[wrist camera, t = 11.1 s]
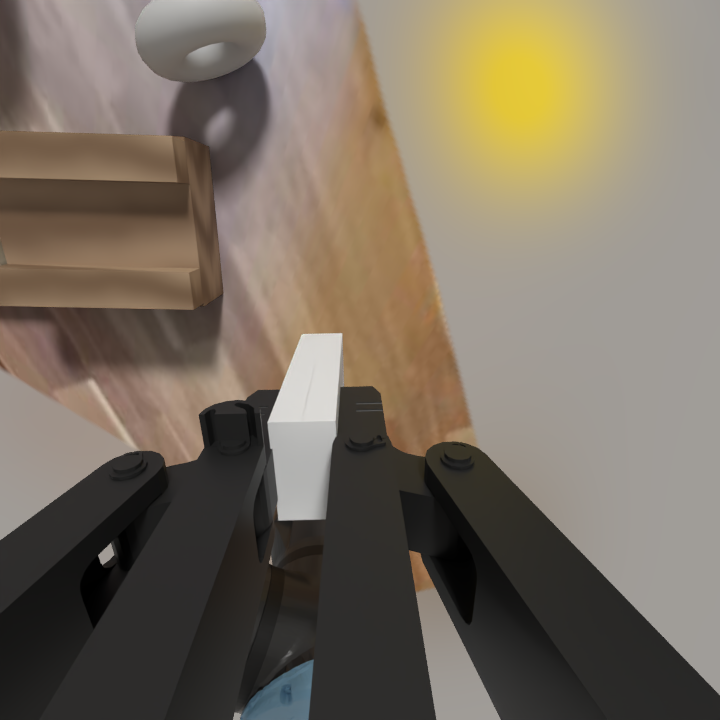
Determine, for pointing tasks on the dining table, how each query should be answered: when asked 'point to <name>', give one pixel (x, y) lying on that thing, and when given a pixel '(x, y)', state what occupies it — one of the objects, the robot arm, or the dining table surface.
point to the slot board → (107, 221)
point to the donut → (199, 37)
